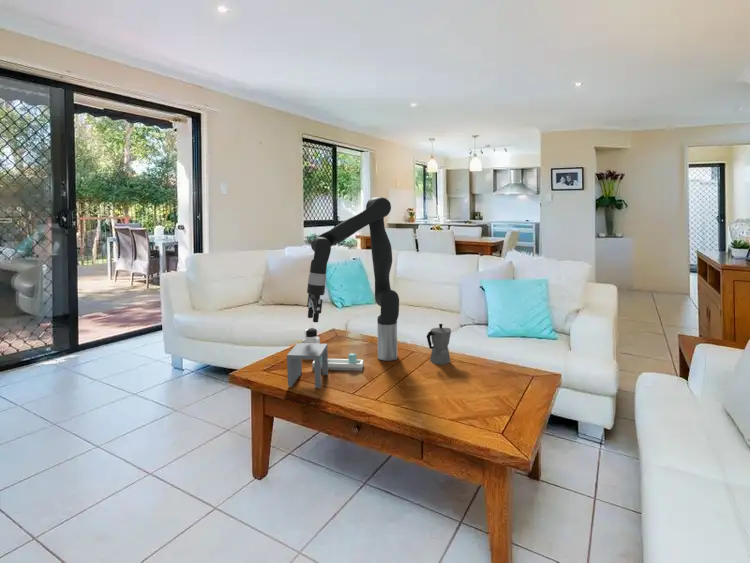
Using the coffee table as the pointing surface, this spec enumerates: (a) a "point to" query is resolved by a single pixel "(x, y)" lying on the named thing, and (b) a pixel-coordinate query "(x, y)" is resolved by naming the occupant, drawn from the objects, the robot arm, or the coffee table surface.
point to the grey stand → (307, 352)
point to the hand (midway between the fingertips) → (312, 319)
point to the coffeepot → (439, 345)
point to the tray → (344, 363)
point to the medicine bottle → (311, 336)
